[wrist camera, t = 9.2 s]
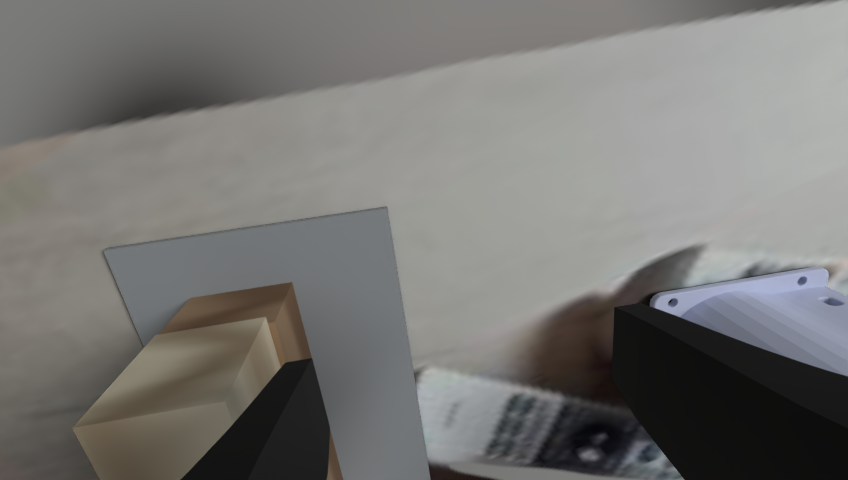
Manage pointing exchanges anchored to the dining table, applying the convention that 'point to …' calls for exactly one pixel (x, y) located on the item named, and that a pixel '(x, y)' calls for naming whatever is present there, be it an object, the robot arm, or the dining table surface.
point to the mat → (307, 319)
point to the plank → (177, 400)
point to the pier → (250, 316)
